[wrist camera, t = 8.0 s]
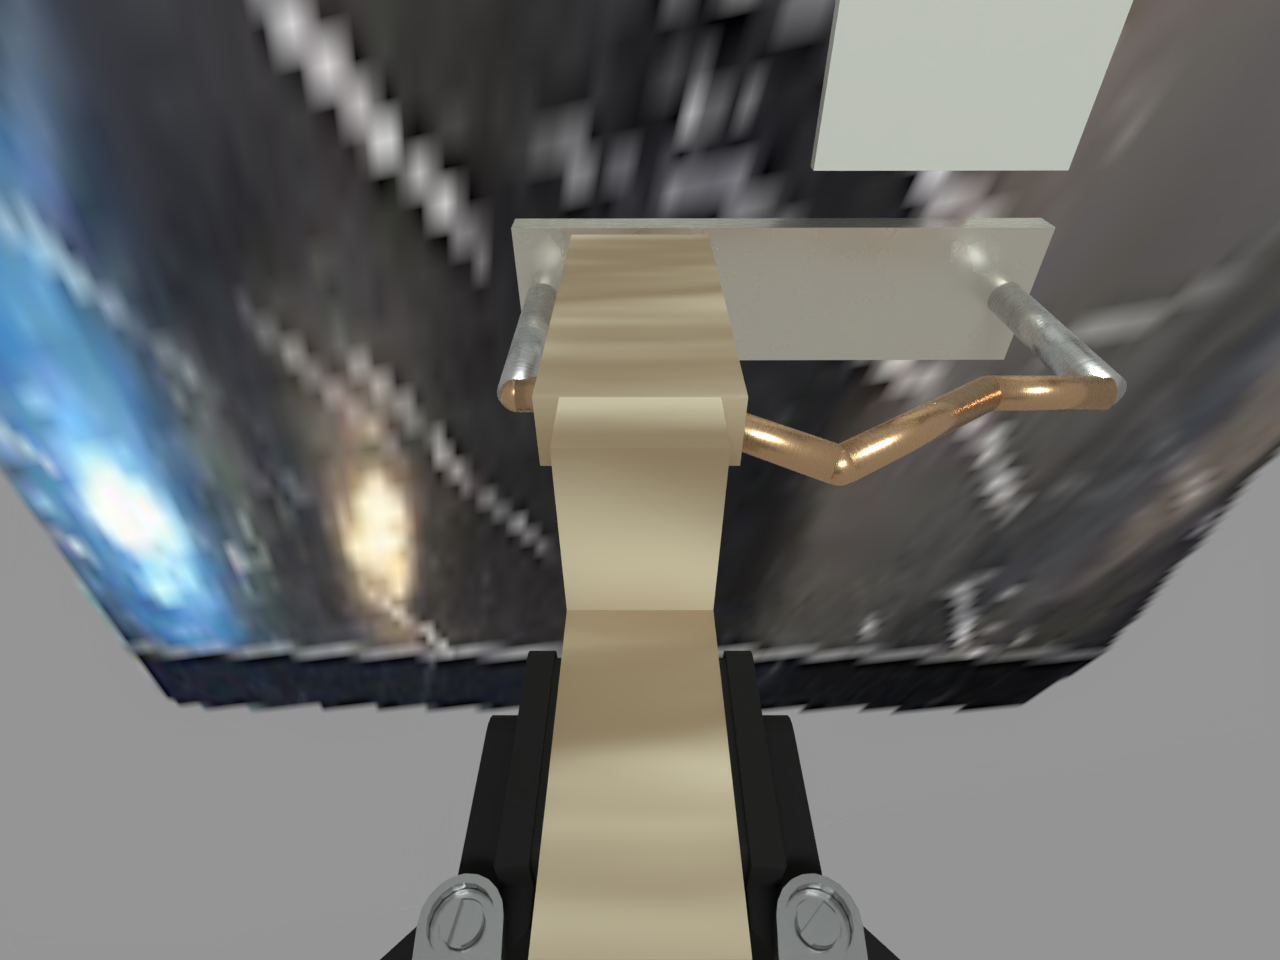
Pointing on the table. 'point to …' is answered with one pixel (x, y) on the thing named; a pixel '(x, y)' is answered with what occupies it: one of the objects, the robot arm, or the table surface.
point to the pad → (962, 83)
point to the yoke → (640, 606)
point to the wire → (851, 317)
